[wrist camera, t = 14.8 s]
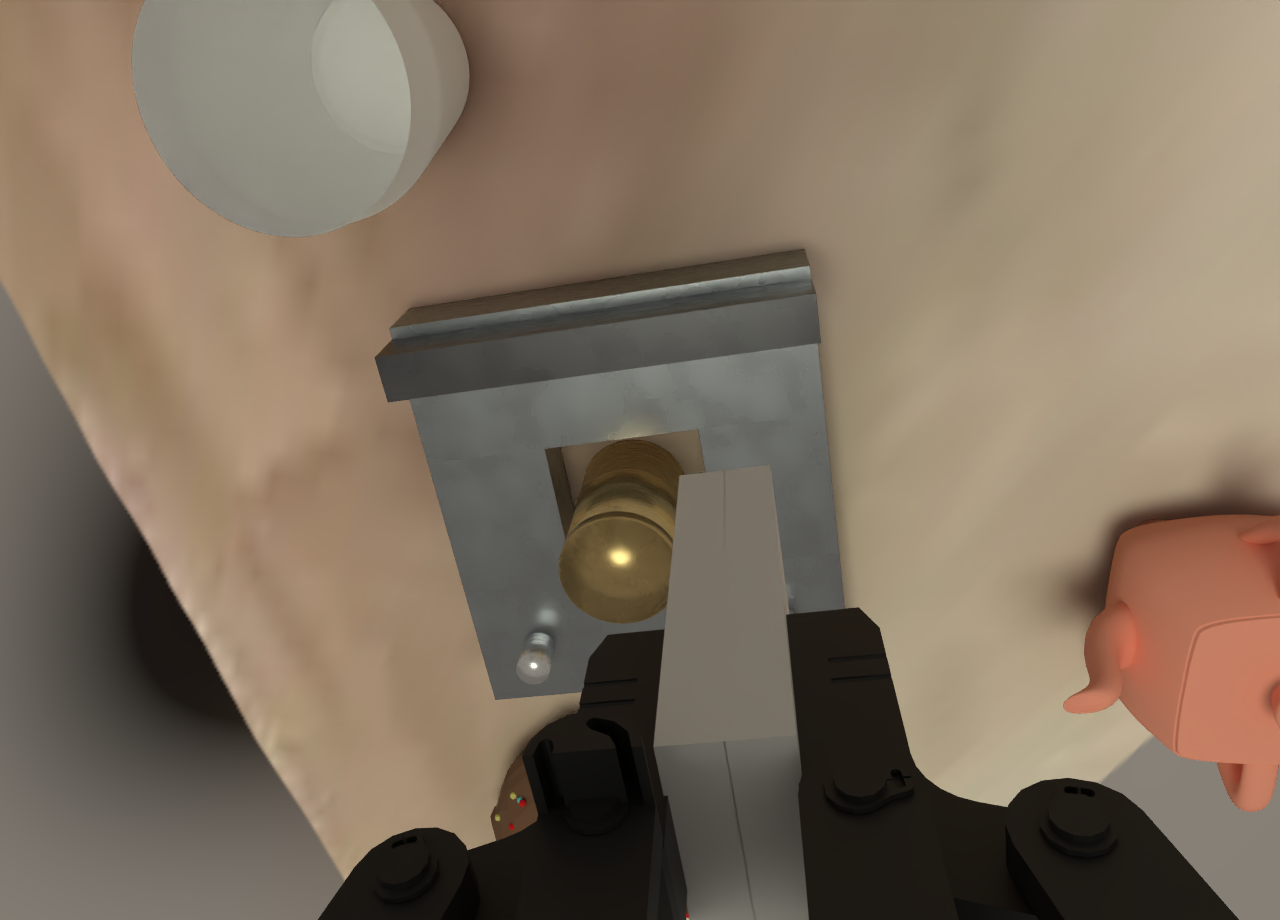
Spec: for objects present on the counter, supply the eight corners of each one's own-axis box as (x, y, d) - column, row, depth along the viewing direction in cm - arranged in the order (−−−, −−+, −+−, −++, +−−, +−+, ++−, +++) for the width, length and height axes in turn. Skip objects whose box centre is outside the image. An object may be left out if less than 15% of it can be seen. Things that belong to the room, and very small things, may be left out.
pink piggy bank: (1273, 403, 44) (1417, 510, 35) (1404, 576, 47) (1568, 716, 38) (1002, 582, 49) (1065, 716, 40) (1136, 728, 52) (1224, 884, 43)
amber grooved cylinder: (574, 445, 47) (546, 525, 40) (678, 432, 47) (670, 511, 40) (593, 537, 50) (571, 629, 42) (694, 526, 49) (689, 617, 42)
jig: (409, 308, 45) (371, 345, 40) (804, 249, 43) (814, 280, 38) (507, 664, 53) (485, 731, 48) (844, 632, 51) (856, 699, 46)
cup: (452, 217, 43) (361, 290, 32) (258, 120, 42) (97, 162, 31) (533, 15, 40) (461, 21, 29) (323, -97, 38) (166, -135, 28)
